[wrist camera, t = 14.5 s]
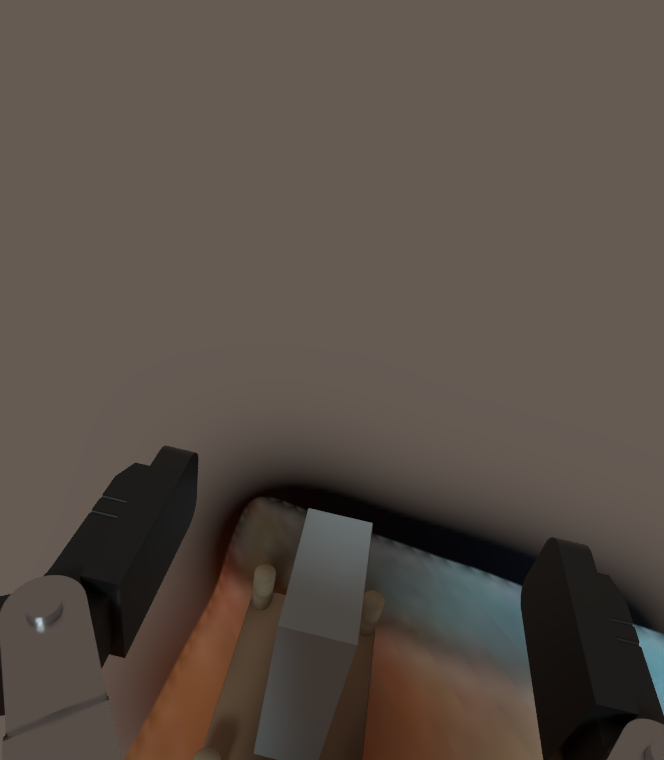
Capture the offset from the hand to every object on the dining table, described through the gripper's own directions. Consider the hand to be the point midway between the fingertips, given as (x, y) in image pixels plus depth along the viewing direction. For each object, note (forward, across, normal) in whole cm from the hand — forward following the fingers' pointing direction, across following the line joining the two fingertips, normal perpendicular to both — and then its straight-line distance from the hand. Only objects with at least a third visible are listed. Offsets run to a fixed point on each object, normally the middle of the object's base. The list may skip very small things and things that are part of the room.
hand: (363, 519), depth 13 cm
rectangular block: (+11, 0, +30) cm, 32 cm away
